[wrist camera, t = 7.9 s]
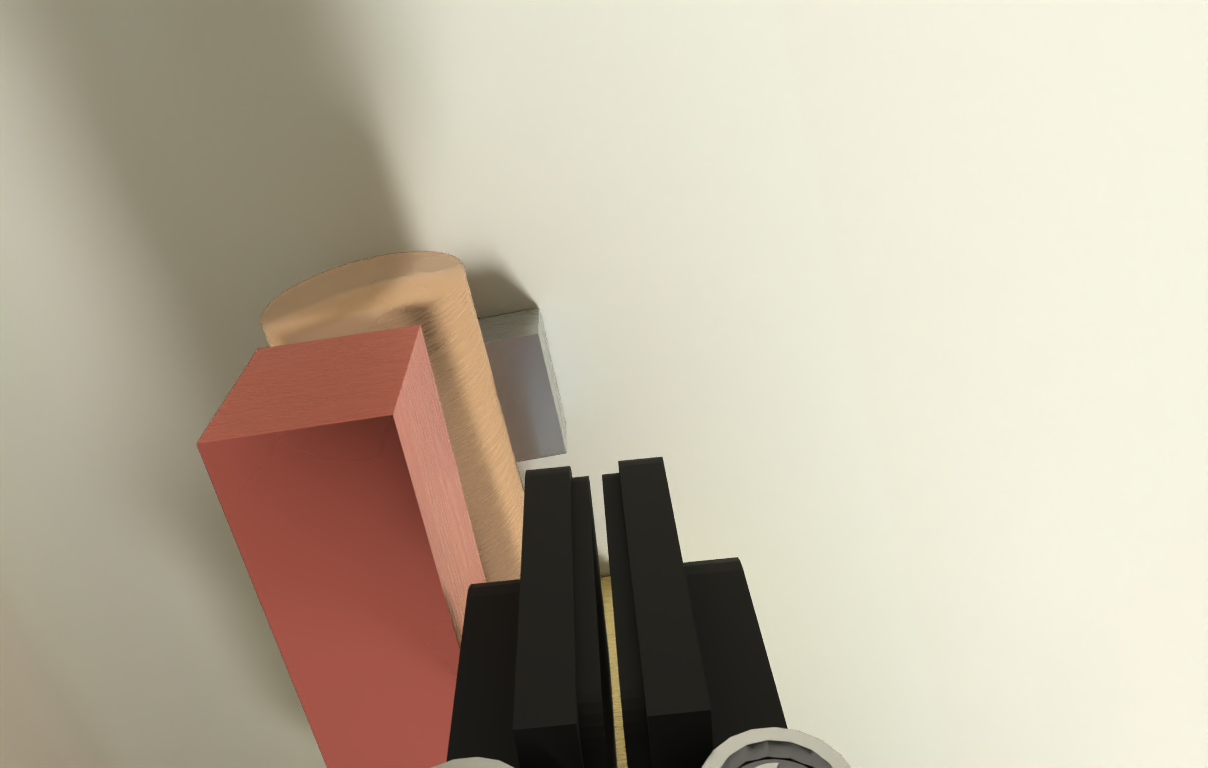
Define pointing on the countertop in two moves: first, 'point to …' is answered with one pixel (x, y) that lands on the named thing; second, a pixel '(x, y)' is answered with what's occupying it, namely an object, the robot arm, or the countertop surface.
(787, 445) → the countertop surface
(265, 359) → the lever
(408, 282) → the pipework
